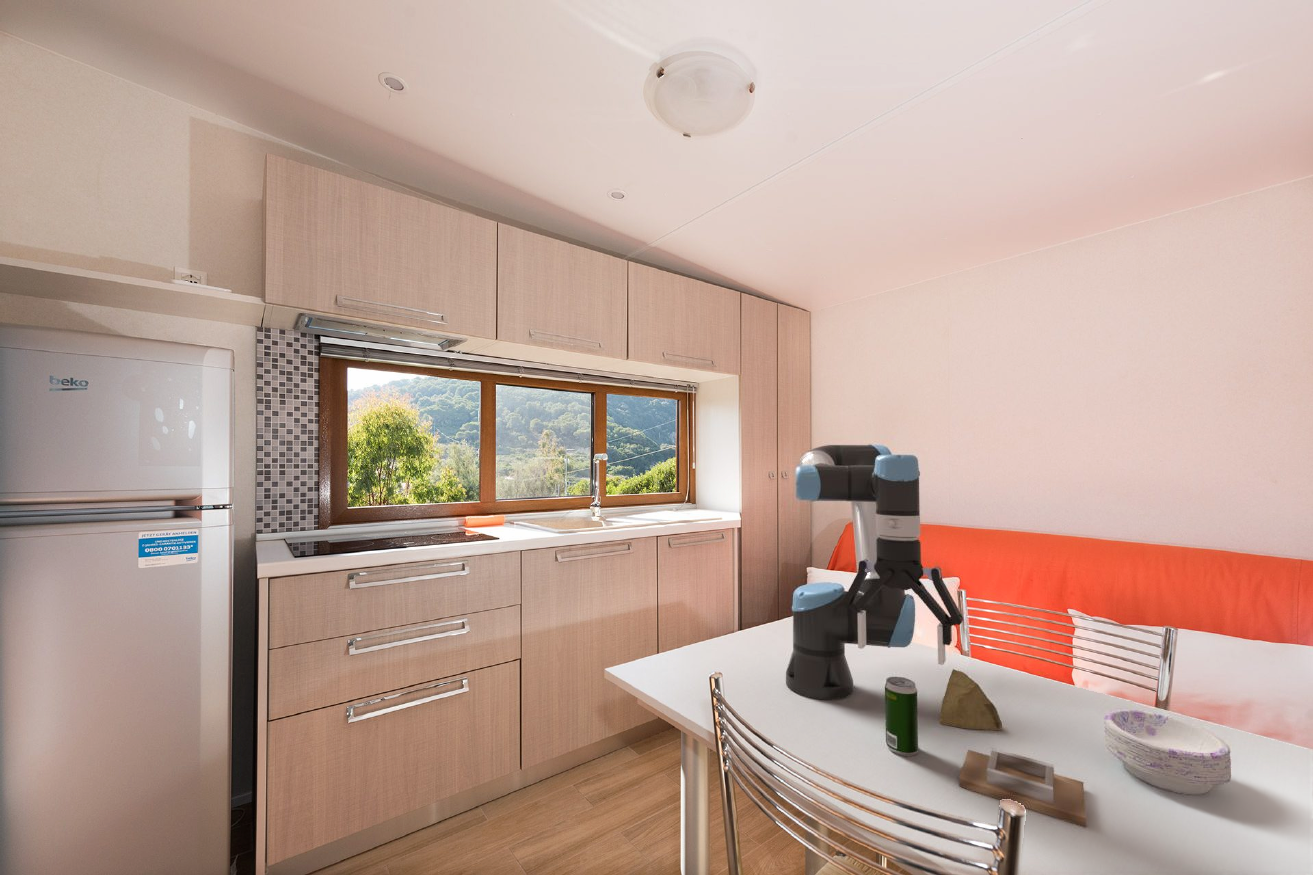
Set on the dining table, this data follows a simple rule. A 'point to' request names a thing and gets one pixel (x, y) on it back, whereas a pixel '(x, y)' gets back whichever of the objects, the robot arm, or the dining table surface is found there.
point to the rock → (968, 705)
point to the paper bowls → (1167, 751)
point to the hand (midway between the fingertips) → (900, 654)
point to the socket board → (1024, 784)
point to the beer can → (901, 716)
